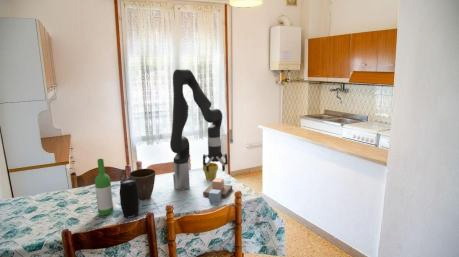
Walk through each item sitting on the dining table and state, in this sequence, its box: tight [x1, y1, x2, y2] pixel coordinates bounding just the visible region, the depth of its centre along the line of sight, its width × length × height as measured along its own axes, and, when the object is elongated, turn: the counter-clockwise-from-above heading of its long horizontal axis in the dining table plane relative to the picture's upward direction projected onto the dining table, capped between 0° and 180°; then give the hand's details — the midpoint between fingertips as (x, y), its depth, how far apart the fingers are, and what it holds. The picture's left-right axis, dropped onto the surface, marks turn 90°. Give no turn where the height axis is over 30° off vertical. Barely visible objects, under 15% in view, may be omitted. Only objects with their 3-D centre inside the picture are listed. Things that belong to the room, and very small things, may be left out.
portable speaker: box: [119, 177, 140, 219], centre depth 167 cm, size 9×9×20 cm
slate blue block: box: [208, 189, 222, 203], centre depth 185 cm, size 6×6×6 cm
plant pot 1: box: [128, 168, 156, 202], centre depth 189 cm, size 15×15×16 cm
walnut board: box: [202, 183, 233, 199], centre depth 196 cm, size 14×14×2 cm
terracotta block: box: [211, 177, 225, 190], centre depth 195 cm, size 6×6×6 cm
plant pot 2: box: [202, 162, 219, 181], centre depth 220 cm, size 10×10×10 cm
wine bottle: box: [94, 158, 114, 216], centre depth 170 cm, size 8×8×30 cm
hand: (215, 171), depth 185 cm, fingers open, 8 cm apart
